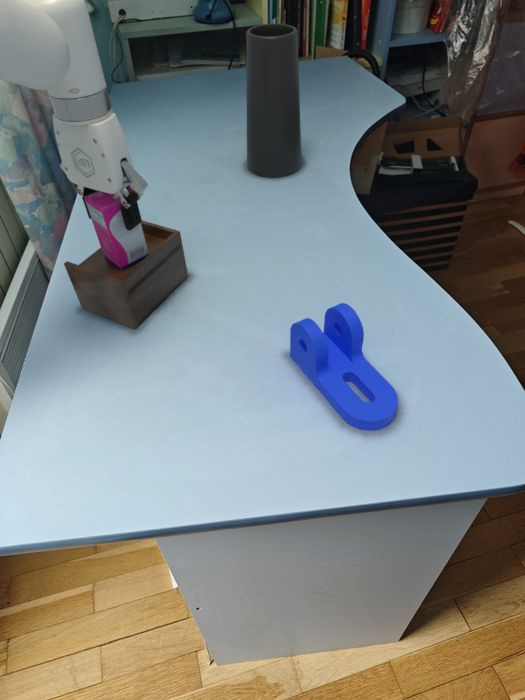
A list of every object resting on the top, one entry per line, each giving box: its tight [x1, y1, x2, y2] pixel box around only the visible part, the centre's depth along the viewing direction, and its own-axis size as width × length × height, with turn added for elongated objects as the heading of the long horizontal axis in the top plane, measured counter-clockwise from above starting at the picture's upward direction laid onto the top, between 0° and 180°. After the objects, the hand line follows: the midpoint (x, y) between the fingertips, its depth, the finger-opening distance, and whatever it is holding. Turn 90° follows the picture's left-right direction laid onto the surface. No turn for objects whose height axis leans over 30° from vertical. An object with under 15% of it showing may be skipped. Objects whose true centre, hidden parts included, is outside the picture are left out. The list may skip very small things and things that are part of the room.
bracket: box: [289, 302, 399, 431], centre depth 69 cm, size 18×8×9 cm, turn 30°
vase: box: [245, 23, 303, 179], centre depth 111 cm, size 14×14×29 cm
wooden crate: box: [63, 219, 189, 330], centre depth 85 cm, size 12×16×10 cm
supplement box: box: [84, 188, 149, 270], centre depth 79 cm, size 6×6×12 cm
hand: (115, 219), depth 78 cm, fingers closed on supplement box, 6 cm apart
